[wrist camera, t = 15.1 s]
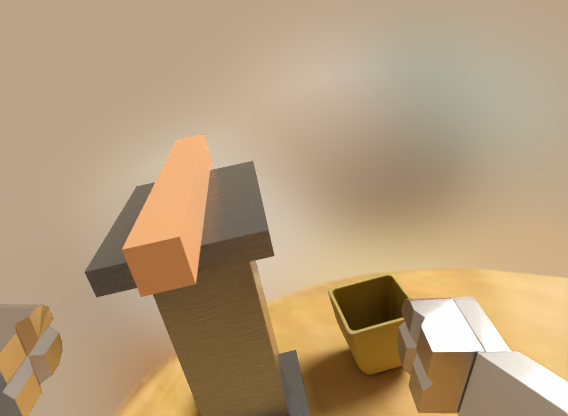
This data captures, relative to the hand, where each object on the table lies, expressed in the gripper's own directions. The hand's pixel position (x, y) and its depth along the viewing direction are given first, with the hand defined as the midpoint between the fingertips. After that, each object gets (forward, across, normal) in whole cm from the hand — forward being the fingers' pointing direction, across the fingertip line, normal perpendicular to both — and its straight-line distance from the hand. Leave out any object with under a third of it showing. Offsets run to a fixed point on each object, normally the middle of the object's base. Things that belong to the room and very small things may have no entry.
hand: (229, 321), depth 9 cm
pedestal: (+21, +1, +36) cm, 41 cm away
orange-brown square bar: (+22, +6, +8) cm, 24 cm away
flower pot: (+28, -14, +34) cm, 46 cm away
